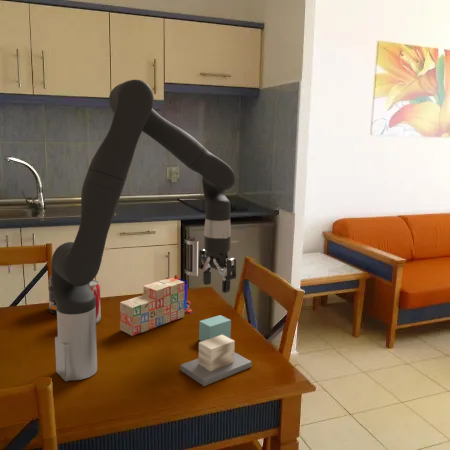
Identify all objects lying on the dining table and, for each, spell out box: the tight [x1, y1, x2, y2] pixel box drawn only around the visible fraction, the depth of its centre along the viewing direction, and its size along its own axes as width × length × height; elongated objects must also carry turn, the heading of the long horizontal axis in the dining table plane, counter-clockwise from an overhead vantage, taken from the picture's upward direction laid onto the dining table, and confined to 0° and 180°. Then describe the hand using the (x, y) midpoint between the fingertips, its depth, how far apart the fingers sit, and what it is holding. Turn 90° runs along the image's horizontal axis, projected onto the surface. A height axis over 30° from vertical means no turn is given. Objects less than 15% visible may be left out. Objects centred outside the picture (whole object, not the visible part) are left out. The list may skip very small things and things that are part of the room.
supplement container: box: [47, 274, 57, 315], centre depth 160 cm, size 10×10×12 cm
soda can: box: [89, 279, 102, 324], centre depth 151 cm, size 7×7×13 cm
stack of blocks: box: [119, 277, 185, 337], centre depth 151 cm, size 21×6×12 cm, turn 138°
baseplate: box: [179, 351, 252, 387], centre depth 125 cm, size 16×10×2 cm, turn 131°
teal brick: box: [198, 314, 232, 342], centre depth 142 cm, size 8×5×6 cm, turn 131°
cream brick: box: [197, 335, 236, 371], centre depth 124 cm, size 8×5×6 cm, turn 131°
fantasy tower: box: [173, 274, 195, 315], centre depth 165 cm, size 12×12×12 cm
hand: (216, 288), depth 139 cm, fingers open, 8 cm apart
